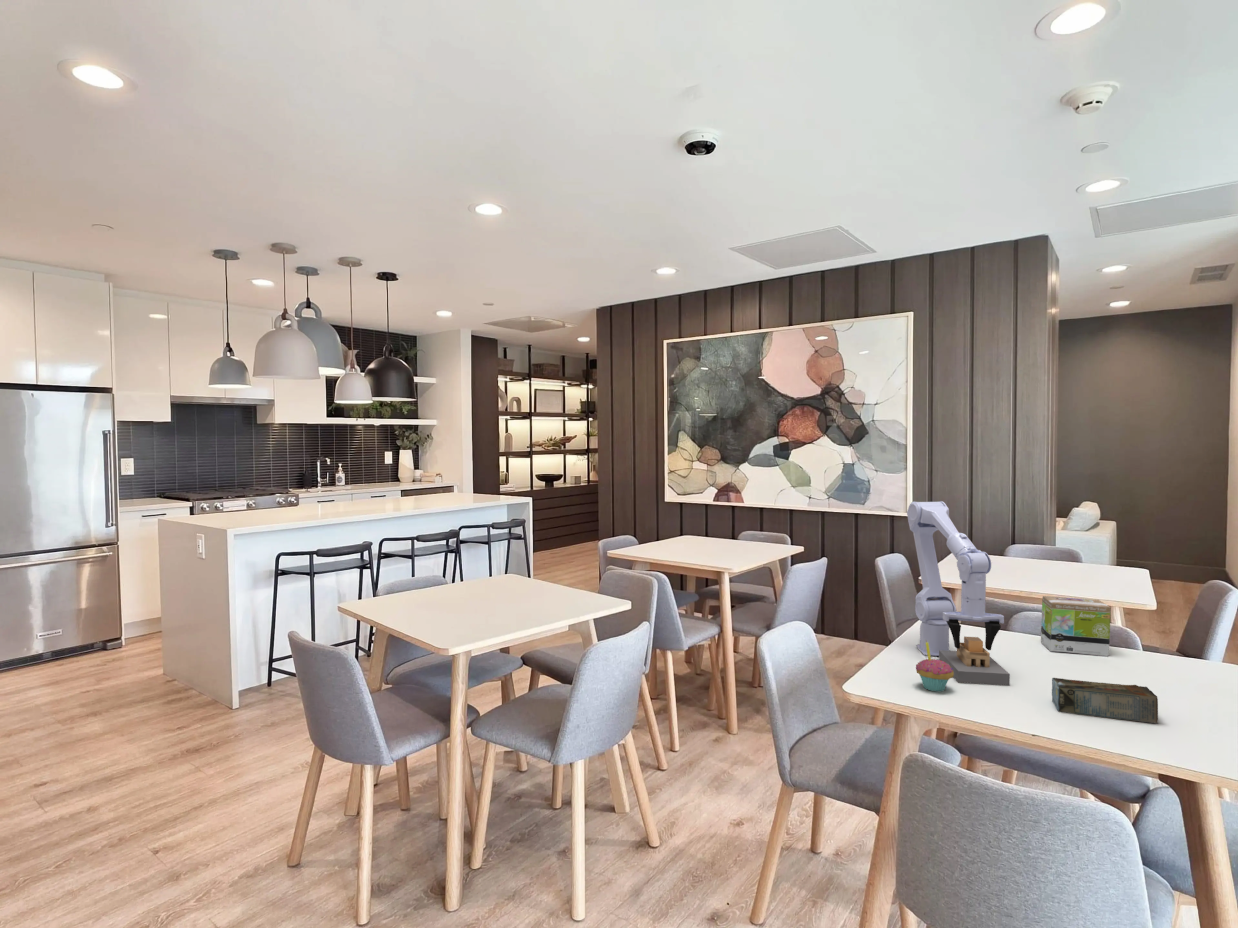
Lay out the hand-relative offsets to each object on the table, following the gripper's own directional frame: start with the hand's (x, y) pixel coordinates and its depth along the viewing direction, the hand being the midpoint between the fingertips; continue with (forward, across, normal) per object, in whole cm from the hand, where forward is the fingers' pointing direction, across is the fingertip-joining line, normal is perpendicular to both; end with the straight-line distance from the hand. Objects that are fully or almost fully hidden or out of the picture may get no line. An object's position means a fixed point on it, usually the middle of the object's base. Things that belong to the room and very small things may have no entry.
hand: (972, 648), depth 183 cm
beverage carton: (+7, +20, -24) cm, 32 cm away
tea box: (+7, +36, +27) cm, 45 cm away
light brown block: (0, 0, 0) cm, 1 cm away
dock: (+6, 0, 0) cm, 7 cm away
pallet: (+3, 0, 0) cm, 4 cm away
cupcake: (+7, -13, -14) cm, 20 cm away
